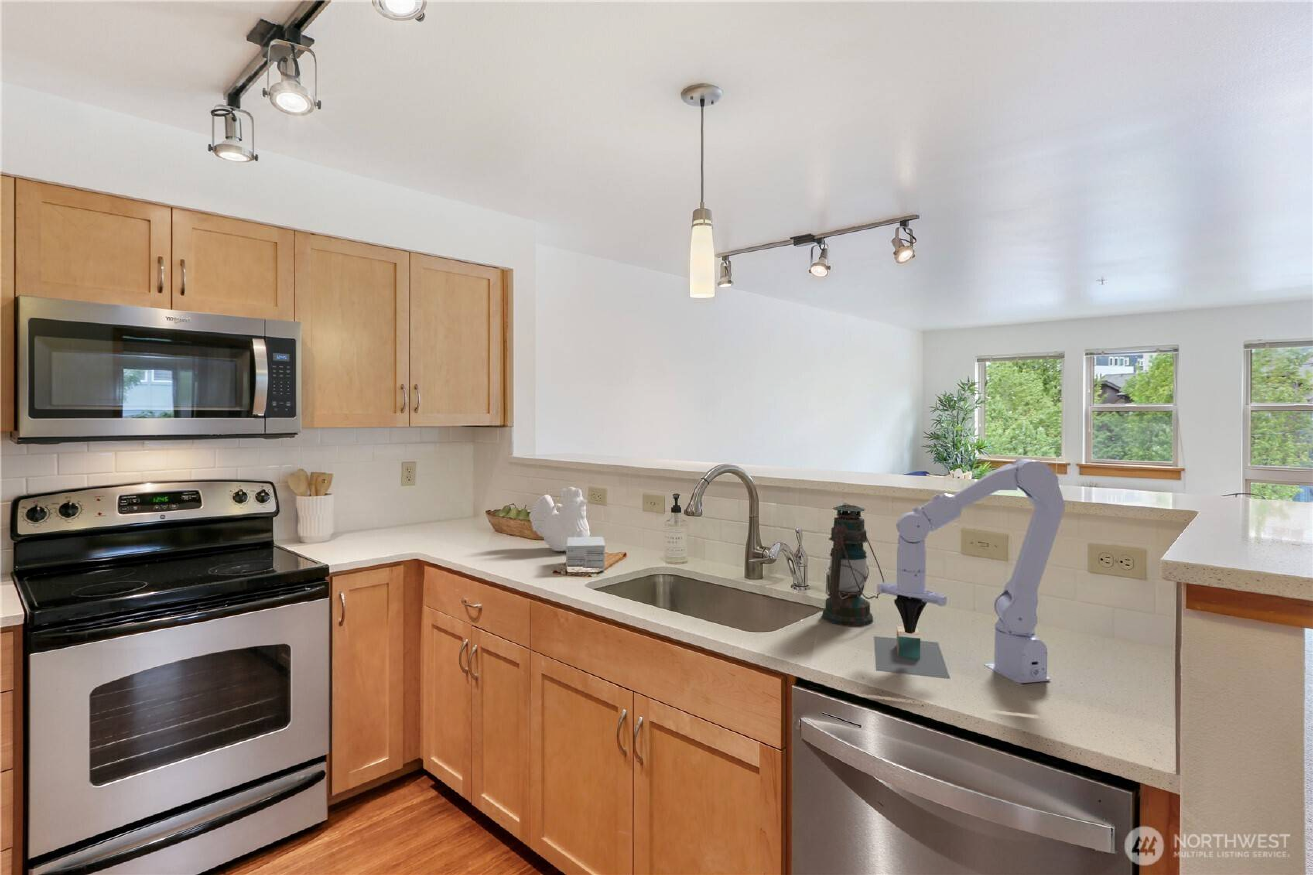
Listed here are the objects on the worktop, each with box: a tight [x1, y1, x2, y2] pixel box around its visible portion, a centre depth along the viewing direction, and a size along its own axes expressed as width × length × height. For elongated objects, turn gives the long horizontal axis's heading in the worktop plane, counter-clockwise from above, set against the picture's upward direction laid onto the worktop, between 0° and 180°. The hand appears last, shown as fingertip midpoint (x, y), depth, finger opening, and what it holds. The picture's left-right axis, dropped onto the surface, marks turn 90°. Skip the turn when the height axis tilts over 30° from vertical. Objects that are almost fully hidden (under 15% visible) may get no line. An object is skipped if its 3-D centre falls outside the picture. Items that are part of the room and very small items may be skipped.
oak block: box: [896, 625, 921, 659], centre depth 147 cm, size 4×4×8 cm
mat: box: [873, 635, 951, 680], centre depth 145 cm, size 22×14×1 cm, turn 163°
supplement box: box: [565, 536, 606, 570], centre depth 229 cm, size 17×13×9 cm
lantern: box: [821, 502, 885, 627], centre depth 172 cm, size 19×14×30 cm
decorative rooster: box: [528, 486, 591, 552], centre depth 259 cm, size 25×16×25 cm, turn 56°
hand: (910, 632), depth 142 cm, fingers closed
